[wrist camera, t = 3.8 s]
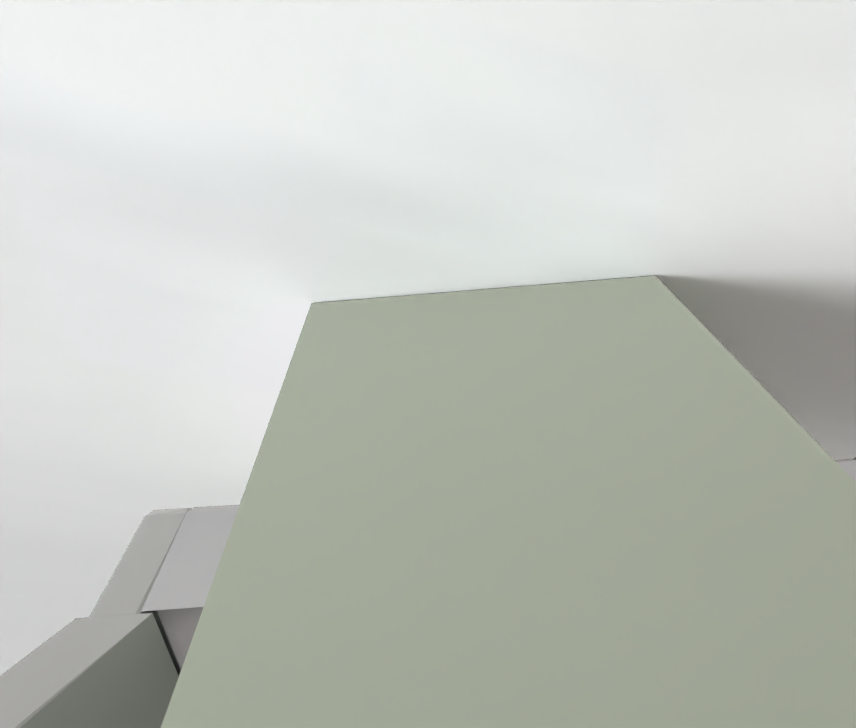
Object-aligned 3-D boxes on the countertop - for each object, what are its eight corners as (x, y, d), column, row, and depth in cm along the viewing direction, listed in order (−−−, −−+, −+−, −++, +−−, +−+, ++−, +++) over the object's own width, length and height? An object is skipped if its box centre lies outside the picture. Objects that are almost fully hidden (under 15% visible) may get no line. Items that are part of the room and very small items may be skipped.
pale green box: (311, 303, 11) (55, 1025, 3) (655, 275, 11) (1302, 944, 3) (336, 443, 12) (206, 1180, 5) (640, 419, 12) (1052, 1130, 4)
